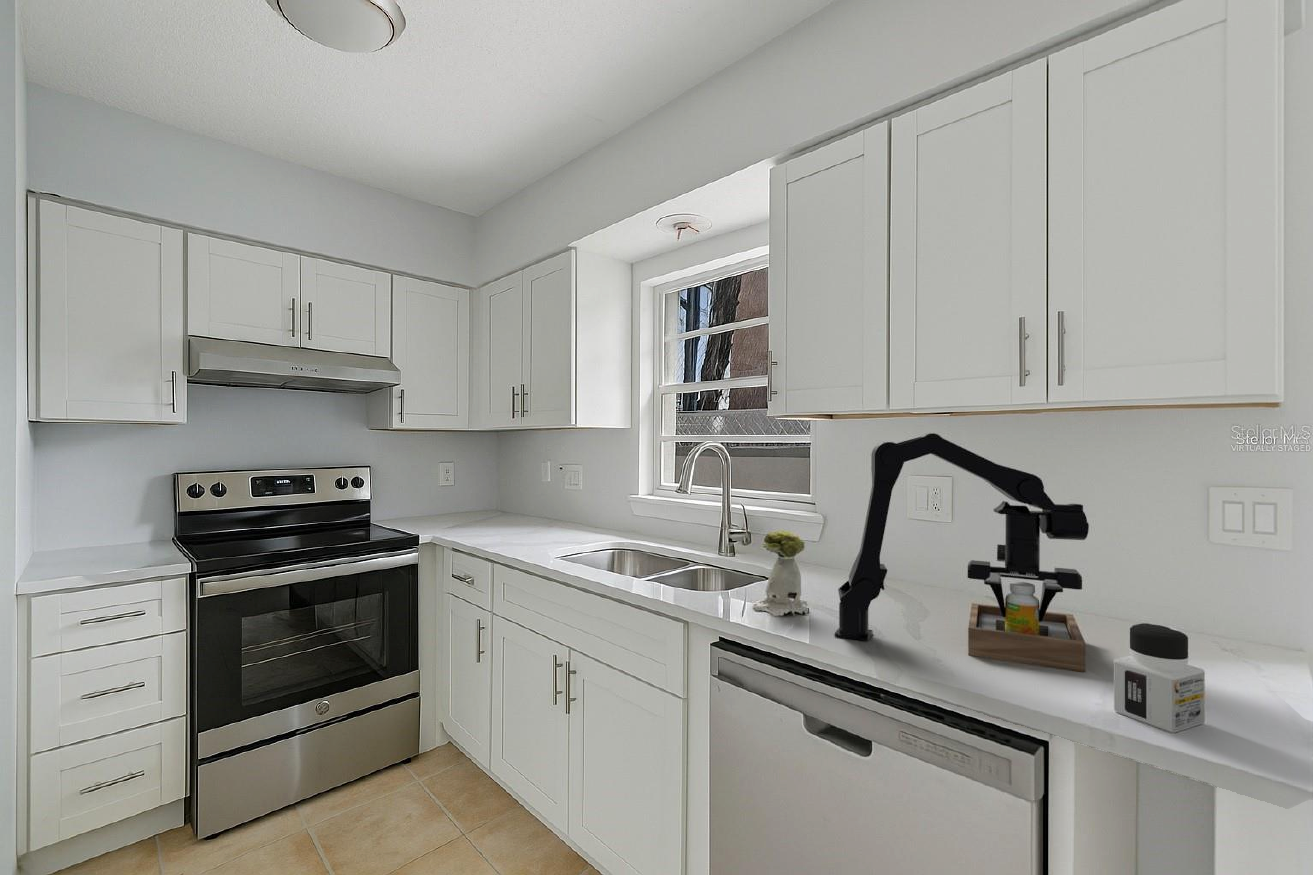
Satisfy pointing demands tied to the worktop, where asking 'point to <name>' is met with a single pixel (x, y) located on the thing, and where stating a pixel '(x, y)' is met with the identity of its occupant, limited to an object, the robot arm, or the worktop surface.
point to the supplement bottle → (1022, 609)
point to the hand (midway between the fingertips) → (1021, 618)
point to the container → (1159, 680)
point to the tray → (1027, 640)
